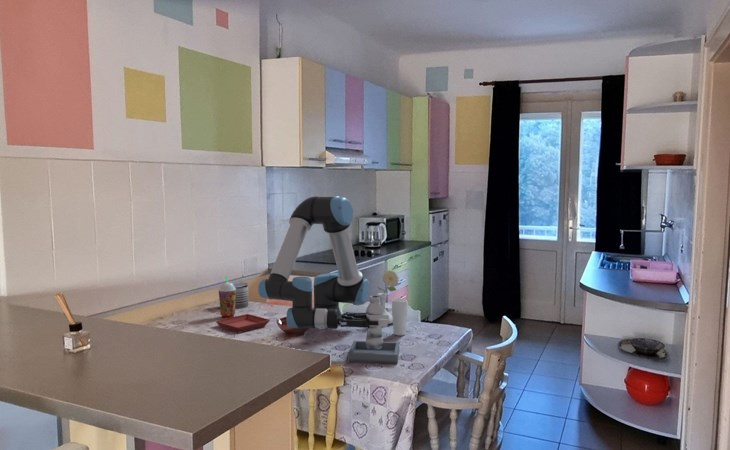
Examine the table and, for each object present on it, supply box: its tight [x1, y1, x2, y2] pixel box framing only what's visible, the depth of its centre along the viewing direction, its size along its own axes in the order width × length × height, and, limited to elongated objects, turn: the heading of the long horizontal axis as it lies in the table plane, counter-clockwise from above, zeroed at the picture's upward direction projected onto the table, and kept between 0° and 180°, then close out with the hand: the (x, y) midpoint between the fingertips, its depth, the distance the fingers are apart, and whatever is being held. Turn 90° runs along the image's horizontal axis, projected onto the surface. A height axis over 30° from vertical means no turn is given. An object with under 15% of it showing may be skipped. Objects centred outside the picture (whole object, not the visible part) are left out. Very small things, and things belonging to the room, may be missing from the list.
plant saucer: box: [215, 313, 271, 333], centre depth 256 cm, size 18×18×3 cm
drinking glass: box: [391, 298, 408, 337], centre depth 242 cm, size 7×7×15 cm
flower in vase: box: [377, 269, 400, 325], centre depth 261 cm, size 13×11×25 cm
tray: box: [347, 340, 400, 365], centre depth 212 cm, size 16×18×4 cm
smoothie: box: [218, 276, 236, 319], centre depth 272 cm, size 8×8×20 cm
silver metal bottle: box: [365, 295, 384, 349], centre depth 211 cm, size 6×7×20 cm
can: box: [232, 282, 249, 310], centre depth 296 cm, size 11×11×12 cm
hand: (387, 320), depth 210 cm, fingers closed on silver metal bottle, 6 cm apart
